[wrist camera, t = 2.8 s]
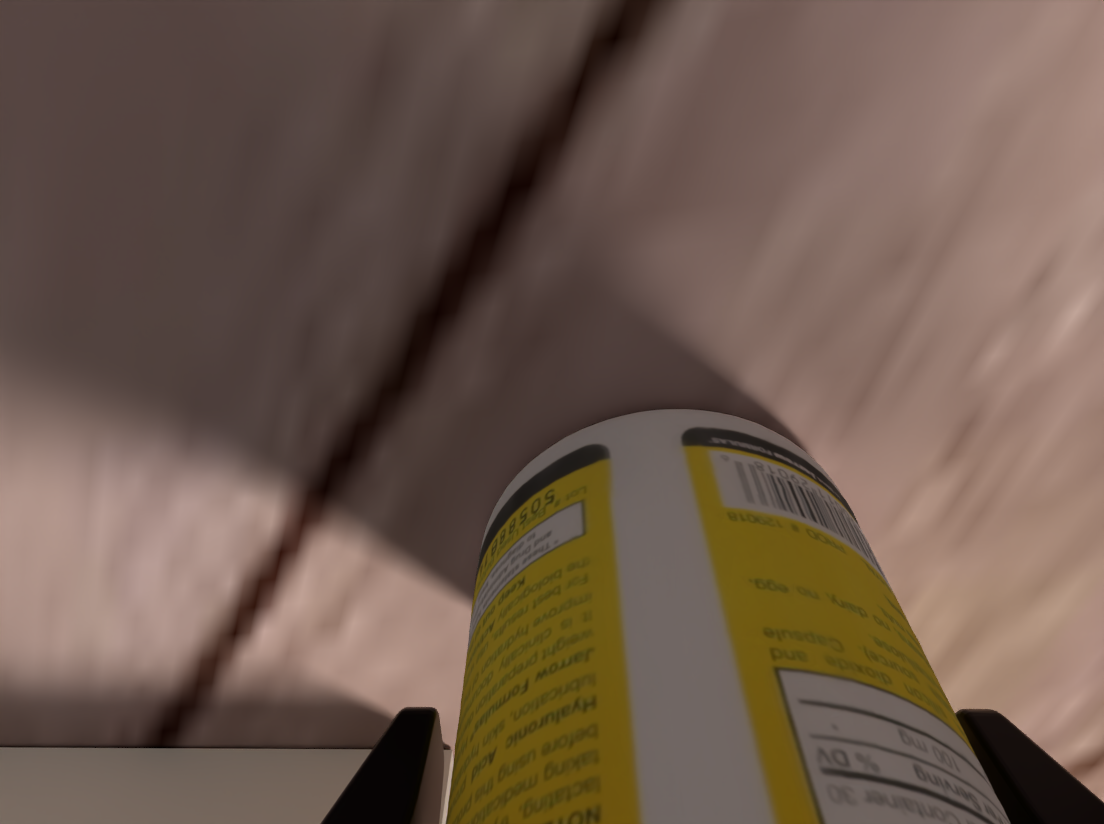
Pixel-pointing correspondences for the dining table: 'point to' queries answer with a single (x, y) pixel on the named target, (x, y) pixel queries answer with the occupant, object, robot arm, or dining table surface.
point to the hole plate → (178, 785)
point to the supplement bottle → (696, 646)
